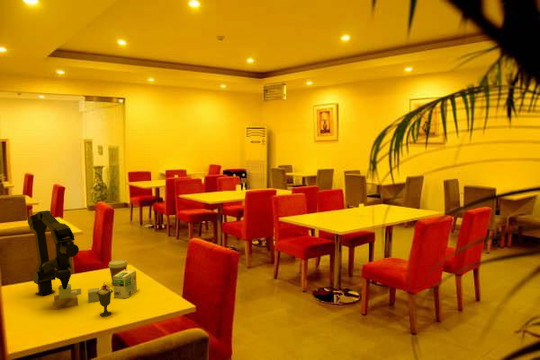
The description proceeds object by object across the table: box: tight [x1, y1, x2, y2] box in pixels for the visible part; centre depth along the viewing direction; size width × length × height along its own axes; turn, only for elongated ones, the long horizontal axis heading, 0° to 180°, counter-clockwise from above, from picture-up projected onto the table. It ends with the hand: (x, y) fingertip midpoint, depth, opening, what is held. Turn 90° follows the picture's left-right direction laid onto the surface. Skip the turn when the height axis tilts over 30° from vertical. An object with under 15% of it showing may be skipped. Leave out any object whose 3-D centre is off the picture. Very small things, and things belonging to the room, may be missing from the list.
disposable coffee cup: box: [107, 259, 129, 284], centre depth 217 cm, size 10×10×12 cm
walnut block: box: [53, 292, 79, 311], centre depth 192 cm, size 9×9×4 cm
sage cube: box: [58, 283, 72, 300], centre depth 191 cm, size 5×5×5 cm
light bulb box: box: [112, 269, 138, 299], centre depth 203 cm, size 11×7×11 cm, turn 168°
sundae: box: [96, 282, 114, 318], centre depth 179 cm, size 7×7×15 cm
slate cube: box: [87, 287, 100, 304], centre depth 196 cm, size 5×5×5 cm
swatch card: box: [71, 288, 82, 296], centre depth 206 cm, size 8×8×1 cm
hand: (64, 286), depth 191 cm, fingers open, 9 cm apart
